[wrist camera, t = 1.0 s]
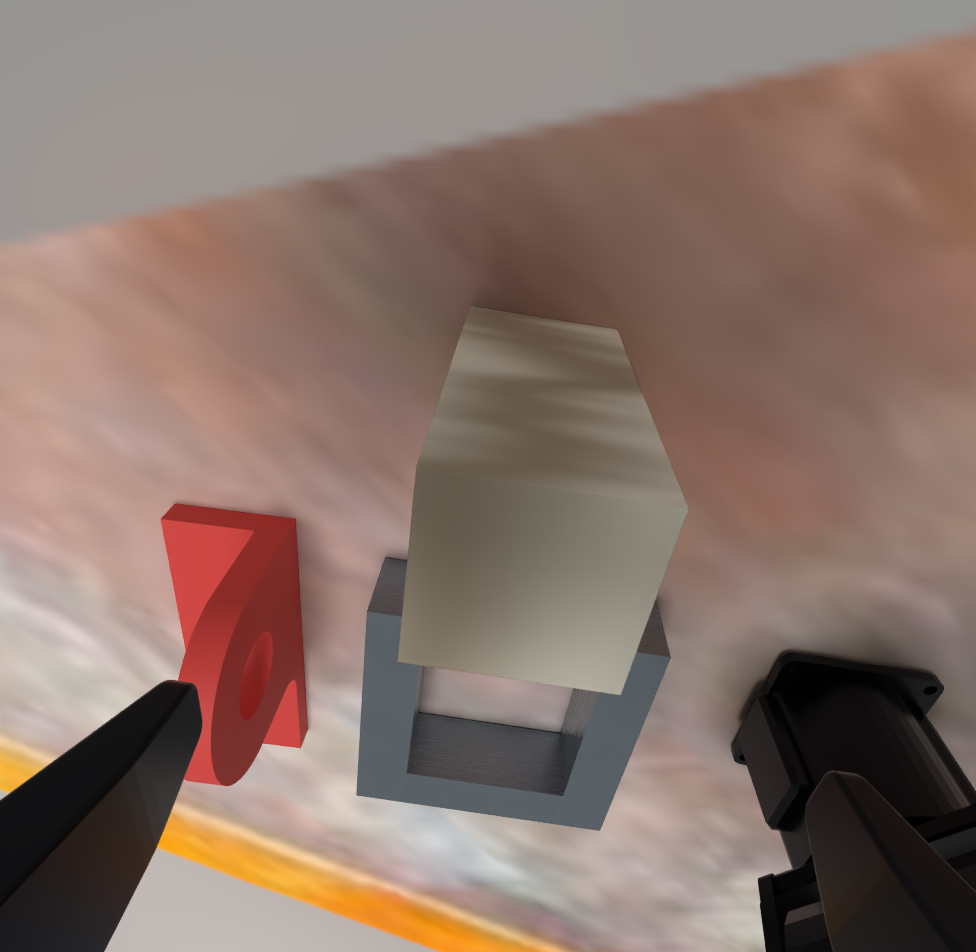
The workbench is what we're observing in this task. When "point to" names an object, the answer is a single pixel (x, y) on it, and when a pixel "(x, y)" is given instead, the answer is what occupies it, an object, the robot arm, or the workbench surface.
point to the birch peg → (538, 509)
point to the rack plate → (494, 734)
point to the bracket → (238, 633)
